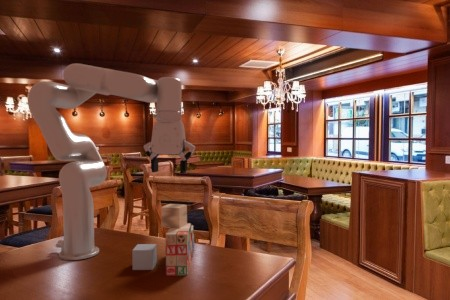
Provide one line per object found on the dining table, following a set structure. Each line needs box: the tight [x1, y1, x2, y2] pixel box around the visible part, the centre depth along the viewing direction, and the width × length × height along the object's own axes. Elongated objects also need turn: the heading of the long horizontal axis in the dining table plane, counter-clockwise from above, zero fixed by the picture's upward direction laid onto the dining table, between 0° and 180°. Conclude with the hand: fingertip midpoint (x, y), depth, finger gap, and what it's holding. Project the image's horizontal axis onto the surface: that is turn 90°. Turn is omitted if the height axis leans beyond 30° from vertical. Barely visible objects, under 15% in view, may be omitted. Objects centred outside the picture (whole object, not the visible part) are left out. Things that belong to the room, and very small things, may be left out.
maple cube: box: [160, 203, 188, 228], centre depth 108 cm, size 6×6×6 cm
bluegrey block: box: [131, 243, 158, 271], centre depth 106 cm, size 6×6×6 cm
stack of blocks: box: [165, 222, 195, 277], centre depth 109 cm, size 21×6×12 cm, turn 0°
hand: (168, 172), depth 108 cm, fingers open, 9 cm apart
